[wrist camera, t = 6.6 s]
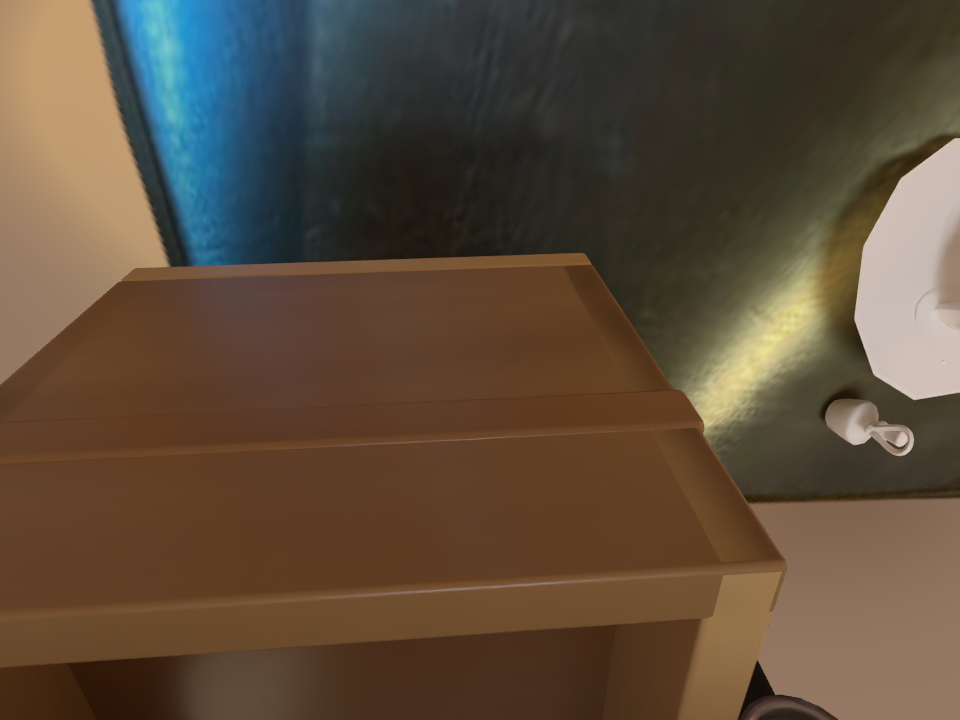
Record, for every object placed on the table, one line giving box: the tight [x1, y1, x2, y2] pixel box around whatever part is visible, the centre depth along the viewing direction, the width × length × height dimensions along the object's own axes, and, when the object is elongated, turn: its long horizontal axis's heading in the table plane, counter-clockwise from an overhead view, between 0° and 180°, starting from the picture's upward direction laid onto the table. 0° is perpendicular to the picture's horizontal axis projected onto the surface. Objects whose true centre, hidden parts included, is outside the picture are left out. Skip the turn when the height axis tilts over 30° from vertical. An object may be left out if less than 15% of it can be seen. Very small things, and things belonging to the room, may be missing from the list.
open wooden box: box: [0, 253, 787, 720], centre depth 9 cm, size 9×7×6 cm
